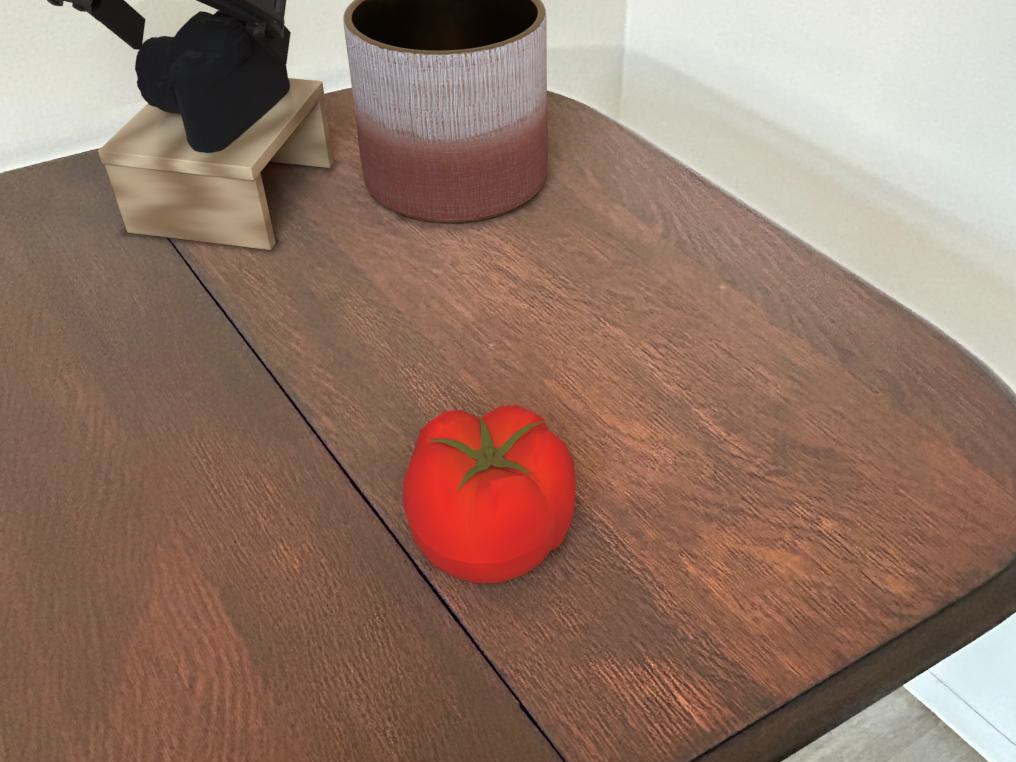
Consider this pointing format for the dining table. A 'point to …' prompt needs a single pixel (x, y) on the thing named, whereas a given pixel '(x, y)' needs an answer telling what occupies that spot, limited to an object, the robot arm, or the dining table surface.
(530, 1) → the planter
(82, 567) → the dining table surface
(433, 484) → the tomato
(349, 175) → the dining table surface
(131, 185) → the shelf
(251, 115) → the film camera
